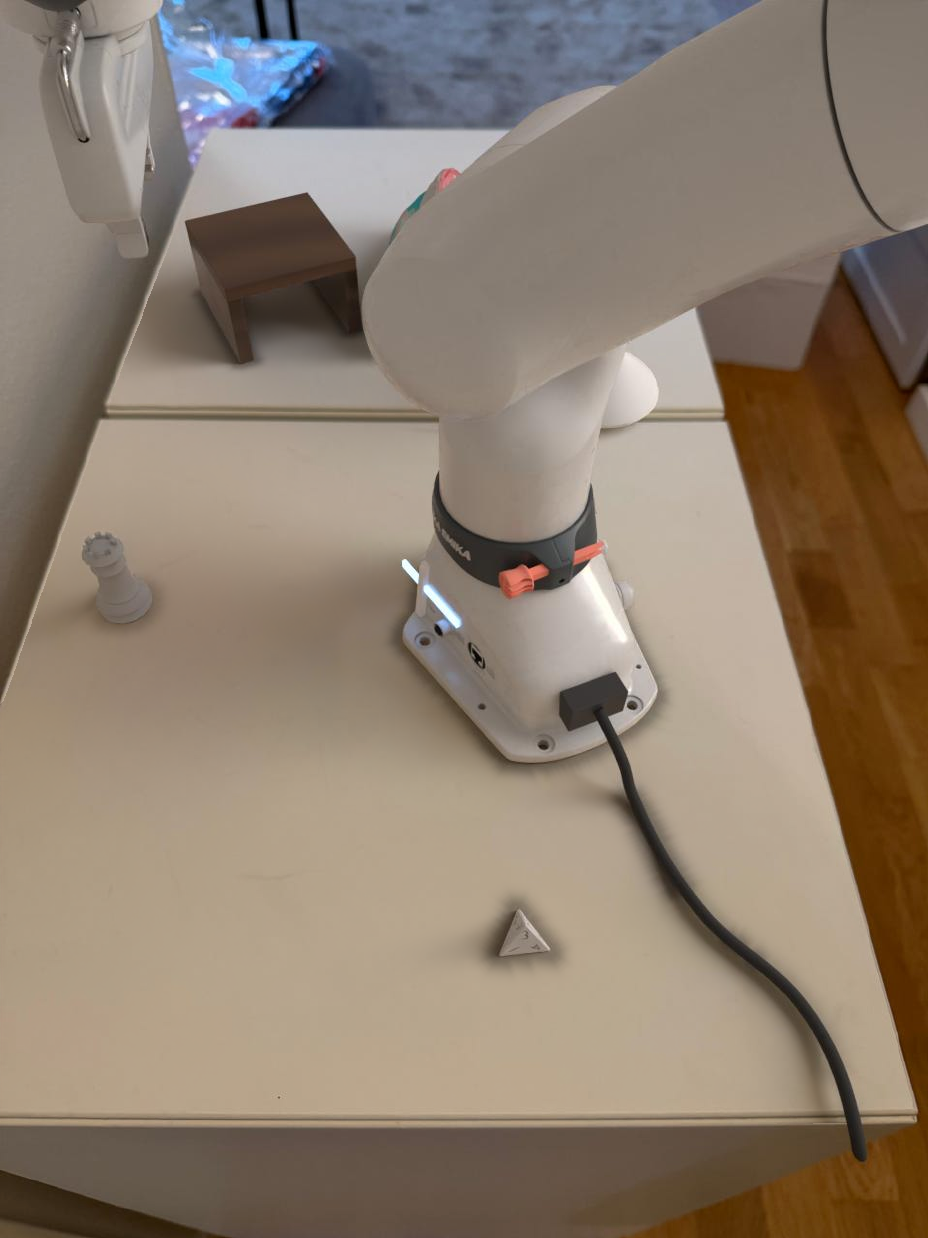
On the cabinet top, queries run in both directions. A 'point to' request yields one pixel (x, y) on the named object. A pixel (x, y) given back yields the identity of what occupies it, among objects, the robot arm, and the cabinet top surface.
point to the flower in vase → (630, 394)
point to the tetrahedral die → (522, 938)
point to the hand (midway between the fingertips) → (139, 212)
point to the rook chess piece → (115, 580)
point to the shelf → (271, 261)
